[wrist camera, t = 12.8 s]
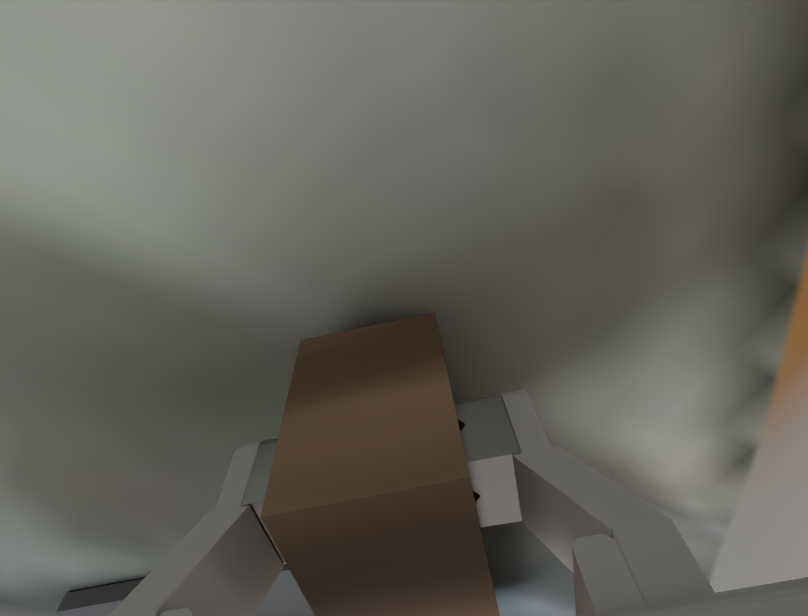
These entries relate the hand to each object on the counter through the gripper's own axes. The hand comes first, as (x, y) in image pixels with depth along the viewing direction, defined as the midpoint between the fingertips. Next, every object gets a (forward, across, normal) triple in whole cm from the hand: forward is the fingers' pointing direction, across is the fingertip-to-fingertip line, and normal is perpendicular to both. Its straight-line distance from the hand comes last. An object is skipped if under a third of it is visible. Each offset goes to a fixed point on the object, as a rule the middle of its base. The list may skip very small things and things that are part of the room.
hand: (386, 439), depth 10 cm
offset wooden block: (+2, 0, +4) cm, 4 cm away
